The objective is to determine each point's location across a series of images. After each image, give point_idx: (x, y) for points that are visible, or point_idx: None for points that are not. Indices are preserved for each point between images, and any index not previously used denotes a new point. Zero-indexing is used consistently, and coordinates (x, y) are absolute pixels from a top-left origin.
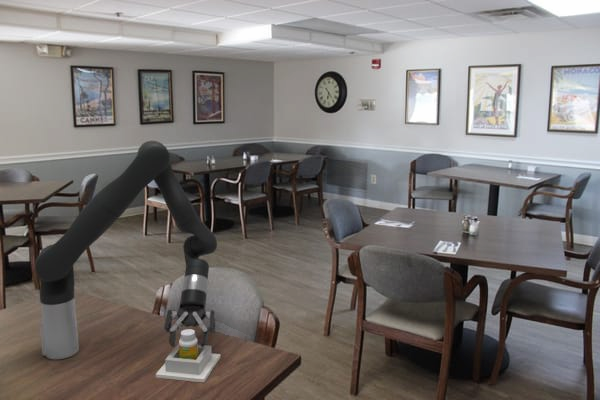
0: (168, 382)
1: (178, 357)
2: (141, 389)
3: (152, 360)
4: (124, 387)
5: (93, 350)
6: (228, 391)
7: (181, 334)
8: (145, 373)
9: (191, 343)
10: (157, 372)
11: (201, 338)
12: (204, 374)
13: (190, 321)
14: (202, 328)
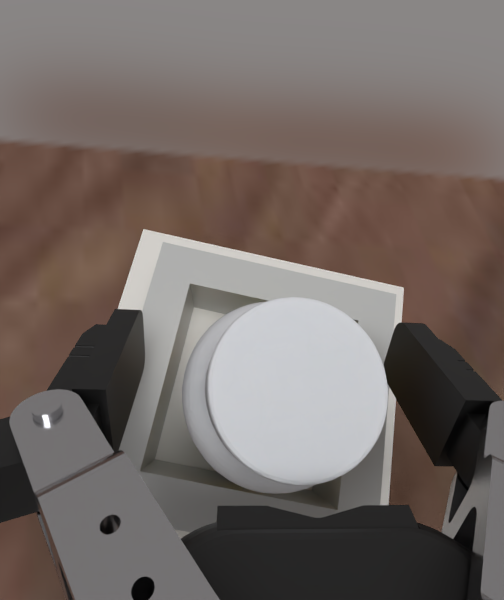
0: (321, 250)
1: None
2: (420, 204)
3: None
4: (496, 223)
5: None
6: (22, 162)
7: (363, 332)
8: (459, 334)
9: (232, 314)
10: (400, 303)
11: (125, 342)
12: (143, 273)
13: (315, 555)
14: (86, 429)
